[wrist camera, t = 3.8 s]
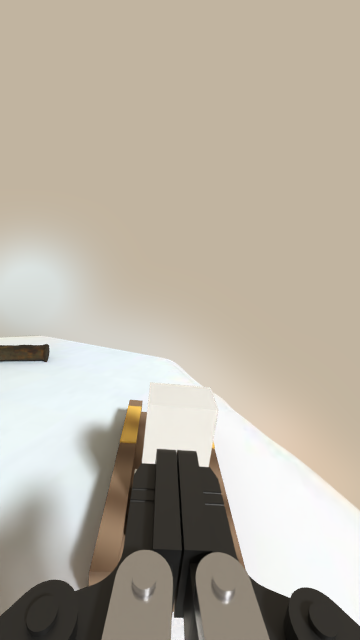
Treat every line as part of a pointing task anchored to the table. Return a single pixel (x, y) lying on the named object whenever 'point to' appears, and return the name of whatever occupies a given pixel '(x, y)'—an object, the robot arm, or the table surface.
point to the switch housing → (120, 495)
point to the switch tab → (180, 421)
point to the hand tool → (24, 352)
